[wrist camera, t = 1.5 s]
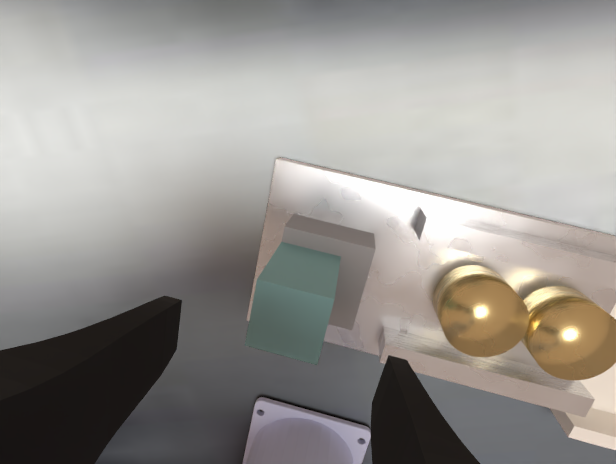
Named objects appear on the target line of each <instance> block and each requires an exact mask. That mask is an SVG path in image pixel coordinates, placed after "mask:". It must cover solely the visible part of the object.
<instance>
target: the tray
mask: <svg viewBox="0 0 616 464" xmlns="http://www.w3.org/2000/svg"><path fill="white" fill-rule="evenodd" d="M610 315H611V316H612V317H614V318H615V319H616V304H615V306H614V307H613V309H612V311H611V313H610ZM579 381H580V382H581V383H582V384H583V385H584V387H585V388H586V389H587V390H588V391H589V393H590V394H591V395H592V396H593V397H594V399H595V401H594V403H593V404H592V406H591V408H590V410H589V411H588V413H587V415H586V417H581V416H578V415H574V414H570V413H566V412H563V411H559V410H555V409H552V408H550V410H551V411H552V413H553V414H554V416H555V418H556V419H557V421H558V422H559V424H560V425H561V427H562V428H563V430H564V432H565V433H566V435H567V436H568V437H569V438H573V439H577V440H580V441H584V442H588V443H591V444H595V445H599V446H602V447H606V448H610V449H613V450H616V363H615V364H614V365H613V366H612V367H611V368H610V369H608V370H607V371H605V372H604V373H602V374H600V375H598V376H595V377H592V378H589V379H585V380H579Z"/></svg>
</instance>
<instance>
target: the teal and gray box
mask: <svg viewBox="0 0 616 464" xmlns="http://www.w3.org/2000/svg"><path fill="white" fill-rule="evenodd" d="M375 249H376V248H375V238H374V233H370V232H365V231H361V230H357V229H353V228H349V227H345V226H341V225H337V224H333V223H329V222H325V221H321V220H316V219H312V218H308V217H304V216H300V215H296V214H293V215H292V217H291V218H290V220H289V221H288V222H287V224H286V225H285V227H284V232H283V237H282V242H281V243H280V245H279V246H278V248H277V249H276V251H275V252H274V254H273V255H272V257H271V259H270V260H269V262H268V263H267V265H266V266H265V268H264V269H263V271H262V272H261V274H260V275H259V277H258V278H257V282H256V287H255V293H254V298H253V303H252V309H251V314H250V320H249V325H248V330H247V336H246V341H245V346H249V347H252V348H256V349H260V350H264V351H267V352H271V353H275V354H278V355H282V356H286V357H289V358H293V359H297V360H300V361H304V362H308V363H311V364H315V365H317V364H318V360H319V356H320V352H321V348H322V345H323V341H324V337H325V333H326V329H327V326H328V324H329V325H333V326H337V327H341V328H345V329H348V330H352V329H353V325H354V322H355V318H356V315H357V311H358V308H359V305H360V301H361V298H362V294H363V291H364V287H365V284H366V280H367V277H368V274H369V270H370V267H371V263H372V260H373V256H374V253H375Z"/></svg>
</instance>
